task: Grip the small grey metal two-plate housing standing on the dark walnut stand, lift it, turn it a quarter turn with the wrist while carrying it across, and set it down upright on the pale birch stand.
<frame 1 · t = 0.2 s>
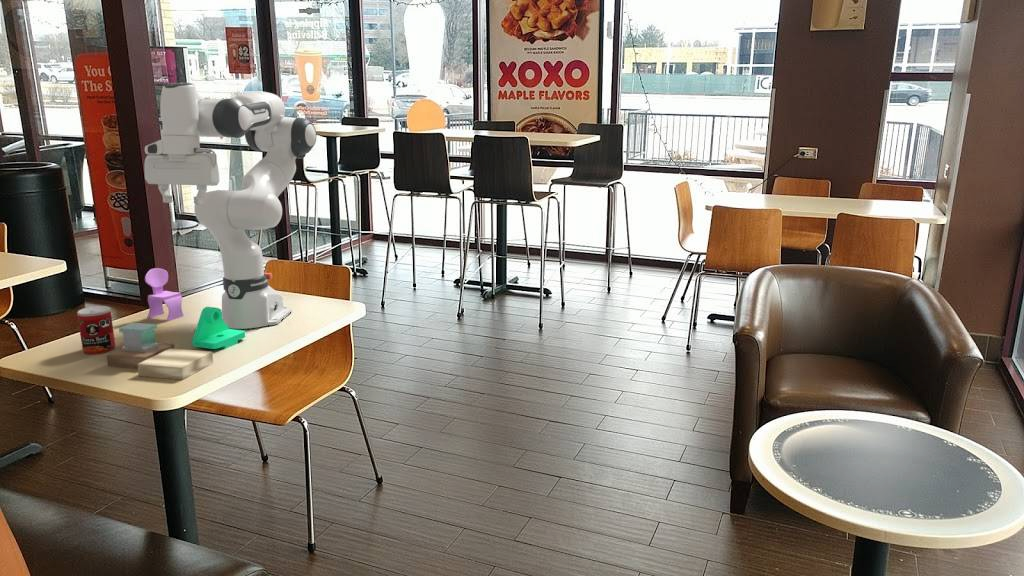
hand: (183, 203, 196), 39 cm above the table, tool pointing down, fingers open, 8 cm apart
camera mount: (221, 345, 208), on the table
canned food: (99, 350, 204), on the table
stand a: (142, 360, 195), on the table
stand b: (177, 369, 188), on the table
housing: (140, 349, 194), point 3 cm above the table, touching stand a
toy chair: (166, 318, 234), on the table
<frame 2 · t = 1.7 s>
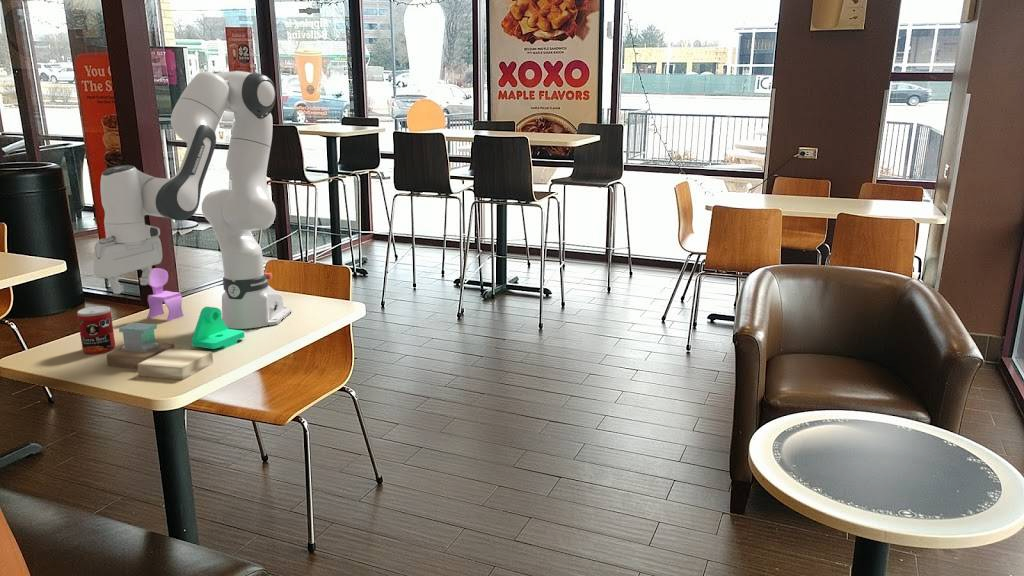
hand: (132, 288, 190), 19 cm above the table, tool pointing down, fingers open, 8 cm apart
nothing on the table moved.
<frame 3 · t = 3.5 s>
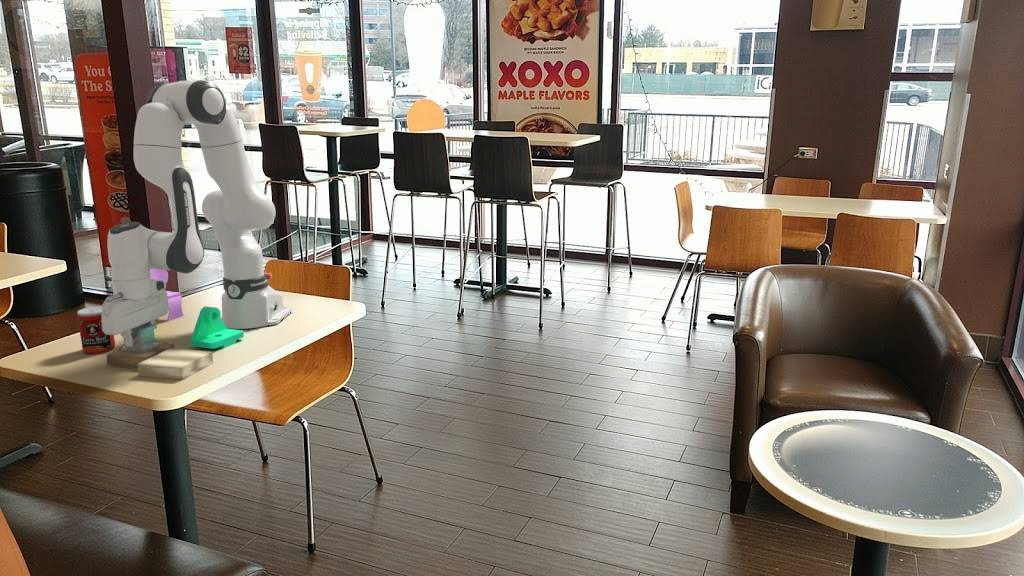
hand: (139, 341, 194), 5 cm above the table, tool pointing down, fingers closed on housing, 5 cm apart
housing: (140, 349, 194), point 3 cm above the table, touching gripper, stand a
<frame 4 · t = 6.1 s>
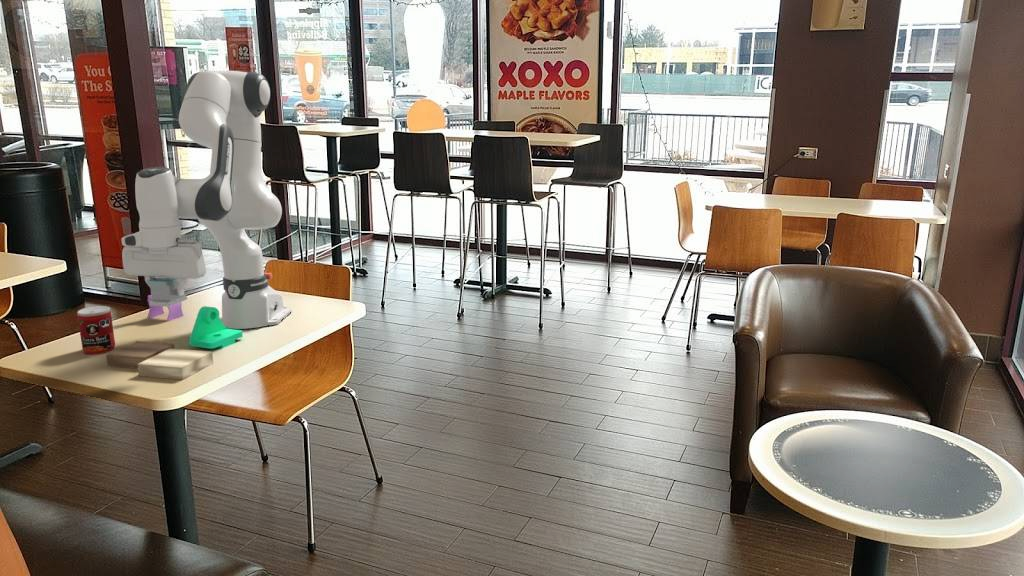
hand: (167, 294, 184), 19 cm above the table, tool pointing down, fingers closed on housing, 5 cm apart
housing: (168, 302, 184), point 17 cm above the table, touching gripper
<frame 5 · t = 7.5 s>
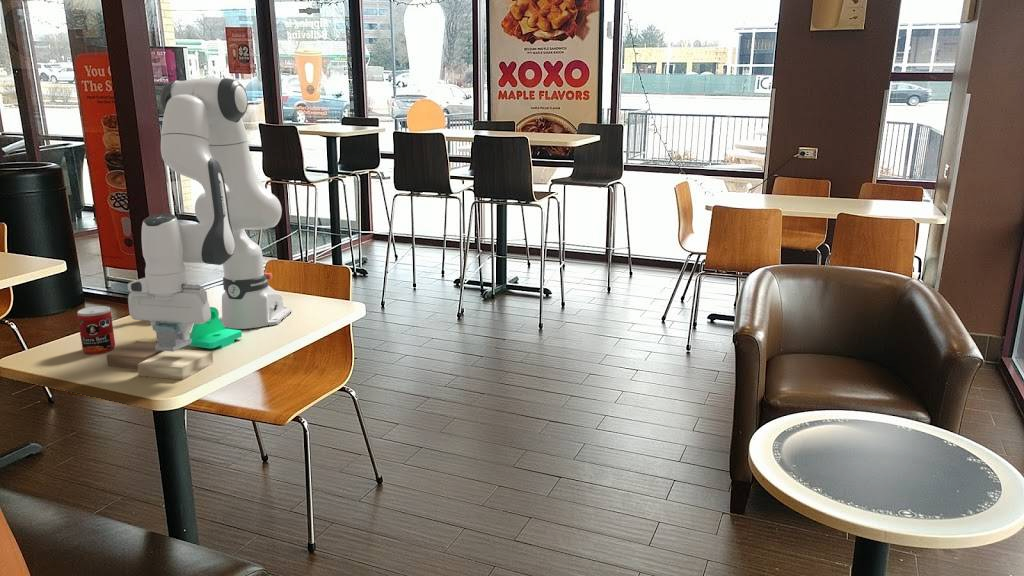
hand: (173, 338, 187), 8 cm above the table, tool pointing down, fingers closed on housing, 5 cm apart
housing: (174, 346, 187), point 6 cm above the table, touching gripper
when the fingers open (6 cm above the table, at t = 8.7 s): housing stays where it is, resting on stand b.
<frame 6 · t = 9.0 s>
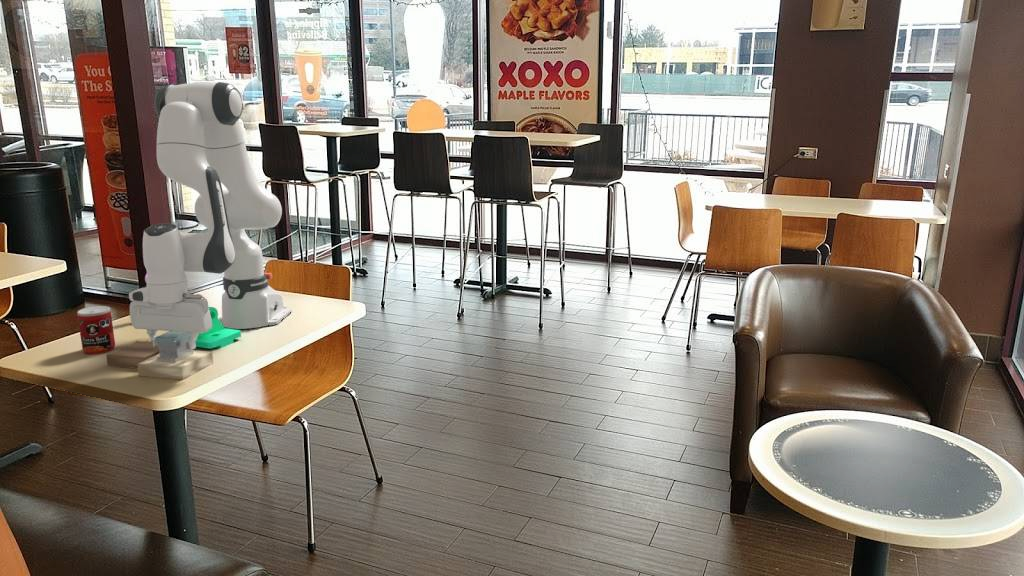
hand: (174, 347, 187), 6 cm above the table, tool pointing down, fingers open, 8 cm apart
housing: (175, 357, 188), point 3 cm above the table, touching stand b
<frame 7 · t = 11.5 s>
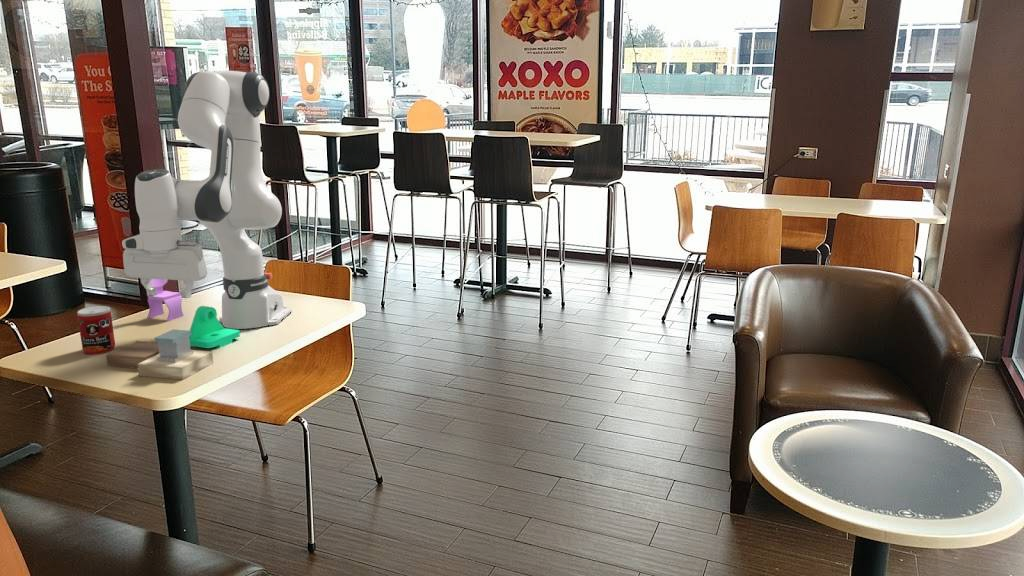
hand: (169, 296, 184), 18 cm above the table, tool pointing down, fingers open, 8 cm apart
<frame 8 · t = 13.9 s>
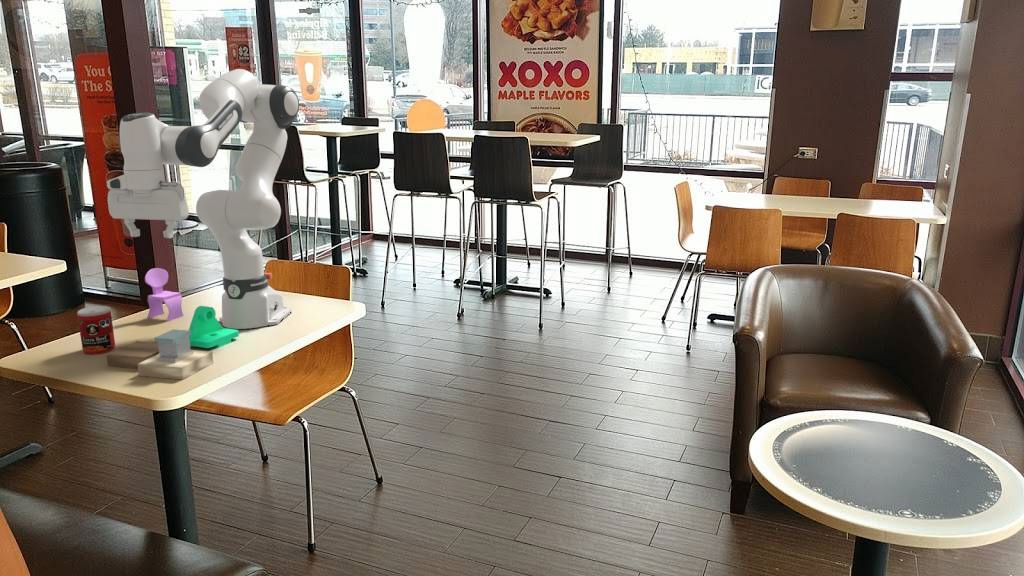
hand: (151, 237, 191), 31 cm above the table, tool pointing down, fingers open, 8 cm apart
at the end: housing inside the target area on the stand b (0.0 cm from its centre), point 3.0 cm above the stand b's base; housing tilted 0°; the gripper is holding nothing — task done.
